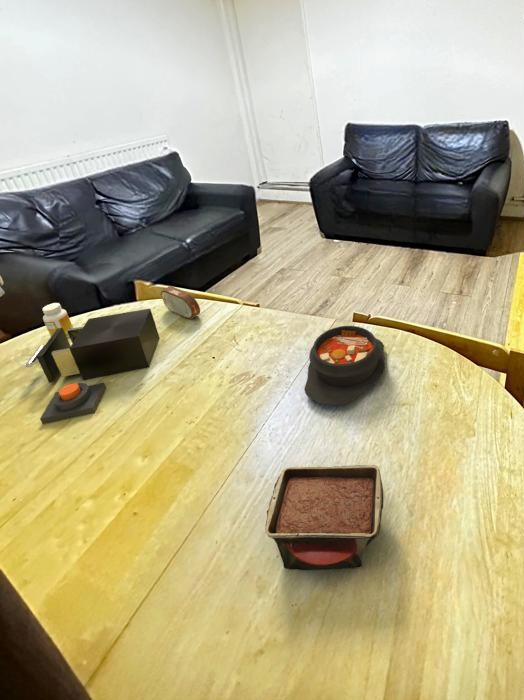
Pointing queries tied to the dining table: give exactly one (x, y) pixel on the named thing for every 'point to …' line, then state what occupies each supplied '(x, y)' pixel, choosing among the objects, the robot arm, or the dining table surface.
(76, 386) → the button
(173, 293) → the tin
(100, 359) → the black rectangular box
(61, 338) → the drawer
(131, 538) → the dining table surface
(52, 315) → the supplement bottle
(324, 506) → the baking dish
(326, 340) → the casserole
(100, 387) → the panel
